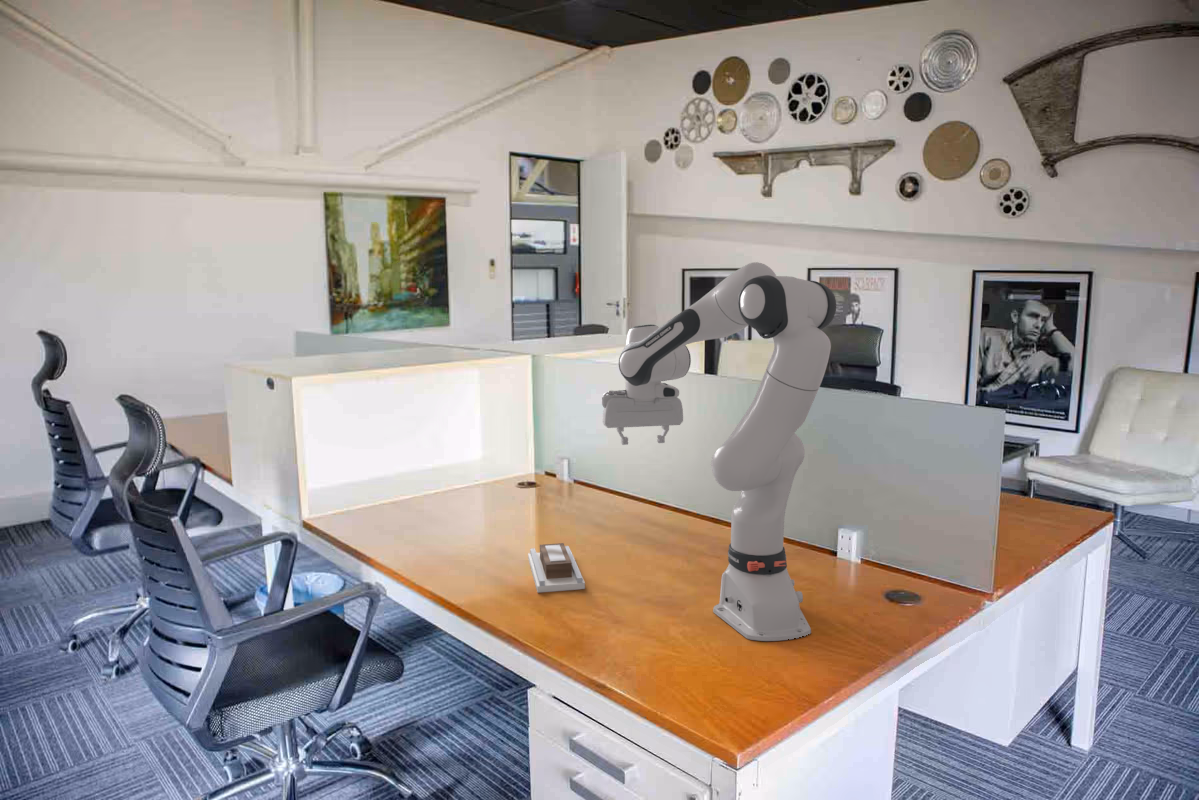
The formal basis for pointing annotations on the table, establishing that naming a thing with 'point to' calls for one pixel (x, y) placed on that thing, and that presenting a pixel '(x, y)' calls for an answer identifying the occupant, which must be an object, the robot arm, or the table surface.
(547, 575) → the picture frame
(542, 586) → the picture ledge
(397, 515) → the table surface
